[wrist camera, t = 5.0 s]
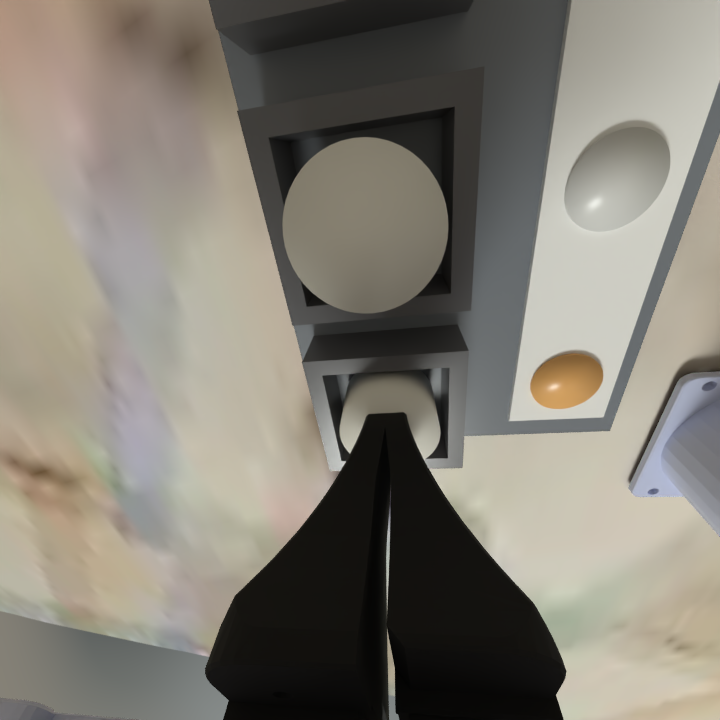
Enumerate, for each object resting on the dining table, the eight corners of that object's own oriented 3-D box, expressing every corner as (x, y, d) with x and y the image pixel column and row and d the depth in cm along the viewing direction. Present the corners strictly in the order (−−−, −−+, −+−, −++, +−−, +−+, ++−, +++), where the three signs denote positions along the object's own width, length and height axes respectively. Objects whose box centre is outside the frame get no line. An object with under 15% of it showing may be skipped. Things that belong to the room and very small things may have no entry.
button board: (889, -537, 5) (1545, -1456, 2) (591, 408, 15) (639, 467, 13) (164, -278, 7) (-3, -605, 4) (328, 420, 17) (315, 474, 14)
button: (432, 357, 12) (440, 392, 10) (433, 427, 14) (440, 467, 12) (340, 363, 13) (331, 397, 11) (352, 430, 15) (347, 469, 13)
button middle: (435, 132, 8) (449, 122, 6) (435, 278, 10) (447, 307, 8) (290, 154, 8) (262, 152, 6) (318, 289, 10) (302, 319, 8)
